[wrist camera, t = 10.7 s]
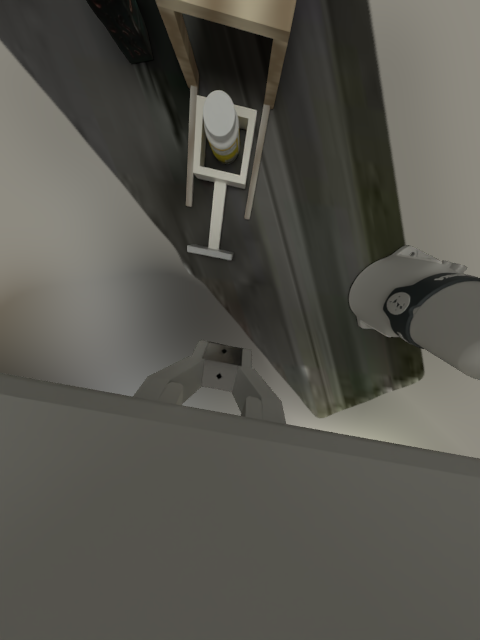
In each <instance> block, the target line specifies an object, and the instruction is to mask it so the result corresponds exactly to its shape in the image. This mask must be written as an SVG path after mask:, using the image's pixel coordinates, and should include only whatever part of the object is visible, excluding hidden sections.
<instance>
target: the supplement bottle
mask: <svg viewBox="0 0 480 640" xmlns="http://www.w3.org/2000/svg"><path fill="white" fill-rule="evenodd" d="M203 119H204V128H205V133H206V136H207V139H208V141H209V144H210V146H211V149H212V151H213V154H214V156H215V157H216V159H217V160H218V161H219V162H221V163H223V164H230V163H232V162H233V161H235V159H236V158H237V156H238V154H239V151H240V133H239V119H238V115H237V112H236V110H235V108H234V104H233V102H232V100H231V98H230V97H229V95H228V94H227V93H225V92H224V91H221V90H216V91H213V92H211V93H210V94H209V95H208V96H207V98H206V100H205V103H204V106H203Z"/></svg>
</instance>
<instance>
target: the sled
mask: <svg viewBox="0 0 480 640" xmlns="http://www.w3.org/2000/svg"><path fill="white" fill-rule="evenodd" d="M206 98H207V97H203V96H199V95H197V102H196V122H195V141H194V161H193V173H194V175H195V176H196V177H197V178H198V179H203V180H207V181H211V182H215V184H214V194H213V205H212V215H211V225H210V236H209V246H208V247H205V246H200V245H195V244H194V245H188V246H187V252H192V253H197V254H202V255H207V256H212V257H217V258H222V259H227V260H231V259H232V258H233V253H234V252H230V251H225V250H220V249H219V246H220V238H221V230H222V222H223V214H224V206H225V198H226V190H227V185H229V186H233V187H238V188H242V189H245V186H246V180H247V174H248V168H249V162H250V156H251V149H252V143H253V137H254V131H255V125H256V115H257V110H254V109H250V108H246V107H242V106H238V105H234V108H235V110H236V112H237V115H238V119H239V128H241V129H245V130H247V133H246V139H245V146H244V153H243V160H242V166H241V173H240V175H236V174H232V173H228V172H223V171H219V170H215V169H210V168H206V167H204V163H205V149H206V133H205V128H204V119H203V106H204V103H205V100H206Z"/></svg>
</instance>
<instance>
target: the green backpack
mask: <svg viewBox="0 0 480 640" xmlns="http://www.w3.org/2000/svg"><path fill="white" fill-rule="evenodd" d="M86 1H87V3H88V4H89V6H90V7H91V9H92V10H93V11H94V13H95V14H96V15H97V17H98V18H99V19H100V20H101V22H102V23H103V24H104V26H105V27H106V28H107V30H108V31H109V33H110V35H111V36H112V38H113V39H114V40H115V42H116V43H117V45H118V47H119V48H120V50H121V51H122V52H123V54H124V55H125V56H126V58H127V59H128V60H129V62H130V63H131V64H134V63H140V62H144V61H149V60H154V59H153V55H152V50H151V45H150V41H149V36H148V31H147V28H146V26H145V23H144V20H143V18H142V15H141V13H140V10H139V7H138V4H137V2H136V0H86Z"/></svg>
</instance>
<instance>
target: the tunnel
mask: <svg viewBox="0 0 480 640" xmlns="http://www.w3.org/2000/svg"><path fill="white" fill-rule="evenodd" d="M155 1H156V3H157V6H158V8H159V11H160V14H161V16H162V19H163V22H164V24H165V27H166V30H167V32H168V35H169V38H170V40H171V43H172V45H173V48H174V51H175V53H176V56H177V59H178V61H179V64H180V67H181V69H182V72H183V75H184V77H185V80H186V83H187V85H188V88H191V89H190V114H189V140H188V166H187V192H186V206H188V207H192V203H193V184H194V173H193V161H194V141H195V122H196V102H197V95H198V89H199V72H198V69H197V65H196V62H195V58H194V55H193V51H192V48H191V44H190V41H189V37H188V33H187V30H186V26H185V23H184V19H183V16H182V13H184V14H188V15H191V16H195V17H198V18H202V19H205V20H209V21H212V22H216V23H219V24H223V25H226V26H230V27H233V28H237V29H240V30H244V31H248V32H251V33H255V34H258V35H262V36H265V37H269V38H272V39H273V44H272V51H271V58H270V65H269V72H268V79H267V86H266V93H265V100H264V106H263V112H262V118H261V124H260V129H259V135H258V141H257V147H256V153H255V159H254V164H253V170H252V176H251V182H250V188H249V194H248V199H247V205H246V211H245V217H244V219H250V214H251V208H252V203H253V197H254V192H255V186H256V181H257V176H258V170H259V165H260V159H261V154H262V148H263V143H264V137H265V132H266V127H267V121H268V116H269V110H270V109H273V107H274V102H275V98H276V93H277V89H278V84H279V80H280V75H281V71H282V66H283V62H284V57H285V53H286V48H287V44H288V39H289V35H290V30H291V25H292V19H293V14H294V9H295V4H296V0H155Z"/></svg>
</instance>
